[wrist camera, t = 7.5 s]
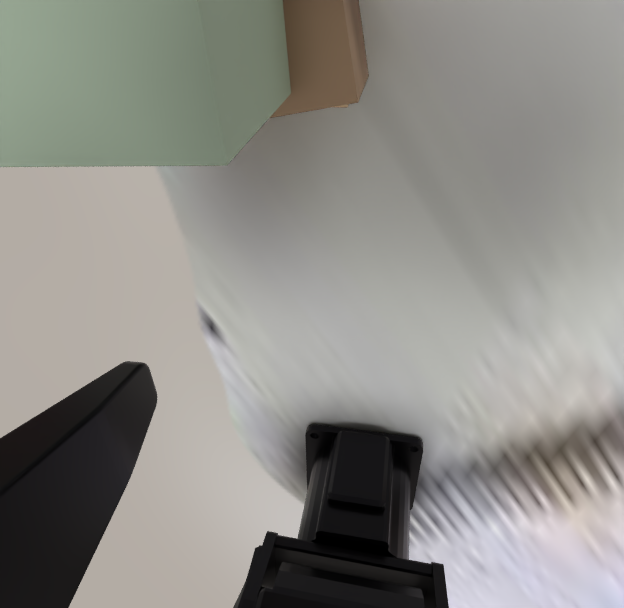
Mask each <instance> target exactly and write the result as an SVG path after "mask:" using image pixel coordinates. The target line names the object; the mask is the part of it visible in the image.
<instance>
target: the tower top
mask: <svg viewBox="0 0 624 608" xmlns="http://www.w3.org/2000/svg"><path fill="white" fill-rule="evenodd" d="M283 10H284V21H285V32H286V43H287V54H288V65H289V76H290V86H291V94H290V95H289V96H288V97H287V99H286V100H285V101H284V102H283V103H282V104H281V105H280V106H279V108H278V109H277V110H276V111H275V112H274V113H273V114H272V115H271V117H270V118H273V117H278V116H284V115H290V114H295V113H301V112H307V111H312V110H318V109H324V108H329V107H335V106H341V105H346V104H352V103H358V101H359V99H360V96H361V94H362V91H363V89H364V86H365V84H366V81H367V79H368V76H369V74H368V67H367V60H366V52H365V45H364V37H363V30H362V23H361V15H360V8H359V1H358V0H283Z"/></svg>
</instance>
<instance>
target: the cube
mask: <svg viewBox="0 0 624 608" xmlns="http://www.w3.org/2000/svg"><path fill="white" fill-rule="evenodd" d="M290 94H291V86H290V76H289V65H288V54H287V43H286V32H285V21H284V10H283V0H0V167H62V166H64V167H70V166H73V167H74V166H227V165H228V164H229V163H230V162H231V161H232V159H233V158H234V157H235V156H236V155H237V154H238V153H239V152H240V150H241V149H242V148H243V147H244V146H245V145H246V144H247V142H248V141H249V140H250V139H251V138H252V137H253V136H254V135H255V133H256V132H257V131H258V130H259V129H260V128H261V127H262V126H263V124H264V123H265V122H266V121H267V120H268V119H269V118H270V117H271V115H272V114H273V113H274V112H275V111H276V110H277V109H278V108H279V106H280V105H281V104H282V103H283V102H284V101H285V100H286V99H287V97H288V96H289V95H290Z"/></svg>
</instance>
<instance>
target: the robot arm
mask: <svg viewBox="0 0 624 608" xmlns="http://www.w3.org/2000/svg"><path fill="white" fill-rule="evenodd" d="M156 403H157V392H156V389H155V385H154V382H153V379H152V376H151V372H150V369H149V367H148V366H147V364H145V363H141V362H130V361H127V362H123V363H122V364H120V365H118V366H117V367H115V368H113V369H112V370H110V371H108V372H107V373H105V374H104V375H102V376H100V377H99V378H97V379H96V380H94V381H92V382H91V383H89V384H87V385H86V386H84V387H83V388H81V389H79V390H78V391H76V392H74V393H73V394H71V395H70V396H68V397H66V398H65V399H63V400H61V401H60V402H58V403H57V404H55V405H53V406H52V407H50V408H48V409H47V410H45V411H44V412H42V413H40V414H39V415H37V416H36V417H34V418H32V419H31V420H29V421H28V422H26V423H24V424H23V425H21V426H19V427H18V428H17V429H15V430H13V431H11V432H10V433H8V434H7V435H5V436H3V437H2V438H0V608H68V607H69V605H70V603H71V601H72V599H73V597H74V595H75V593H76V591H77V589H78V586H79V584H80V582H81V580H82V578H83V576H84V574H85V572H86V570H87V567H88V565H89V563H90V561H91V559H92V557H93V555H94V553H95V551H96V549H97V547H98V545H99V542H100V540H101V538H102V536H103V534H104V532H105V530H106V528H107V526H108V524H109V522H110V520H111V517H112V515H113V513H114V511H115V509H116V507H117V505H118V503H119V501H120V499H121V496H122V494H123V492H124V490H125V488H126V486H127V484H128V481H129V479H130V477H131V474H132V472H133V469H134V467H135V464H136V461H137V458H138V456H139V453H140V450H141V447H142V444H143V441H144V438H145V436H146V433H147V430H148V427H149V424H150V422H151V418H152V416H153V413H154V410H155V407H156ZM422 454H423V442H422V441H421V440H420V439H419V438H415V437H408V436H400V435H392V434H385V433H377V432H370V431H362V430H354V429H347V428H339V427H332V426H324V425H317V424H312V425H309V426H308V427H307V431H306V460H307V490H308V491H307V496H306V501H305V506H304V511H303V515H302V520H301V525H300V530H299V534H298V539H296V538H290V537H285V536H279V535H278V533H274V532H269V531H267V533H266V536H265V539H264V542H263V545H262V546H259V547H257V548H255V551H254V555H253V558H252V562H251V566H250V569H249V573H248V576H247V579H246V582H245V584H244V586H243V588H242V590H241V593H240V595H239V597H238V599H237V601H236V603H235V605H234V607H233V608H449V606H448V598H447V590H446V582H445V574H444V566H443V564H439V563H434V562H431V564H428V563H423V562H418V561H412V560H409V521H410V510H411V509H412V507H413V502H414V496H415V491H416V486H417V480H418V475H419V470H420V464H421V459H422Z"/></svg>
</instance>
